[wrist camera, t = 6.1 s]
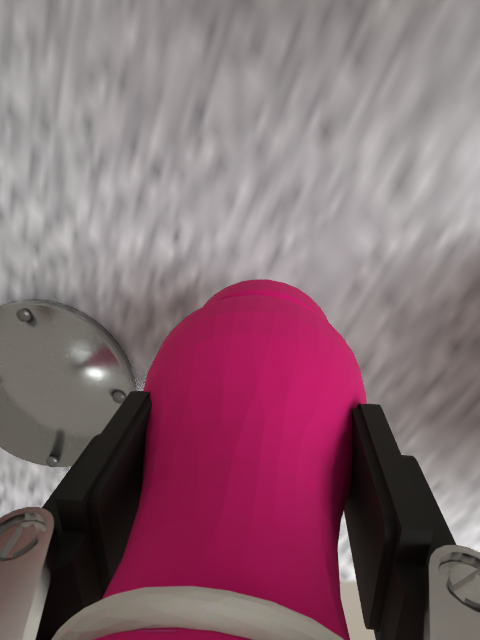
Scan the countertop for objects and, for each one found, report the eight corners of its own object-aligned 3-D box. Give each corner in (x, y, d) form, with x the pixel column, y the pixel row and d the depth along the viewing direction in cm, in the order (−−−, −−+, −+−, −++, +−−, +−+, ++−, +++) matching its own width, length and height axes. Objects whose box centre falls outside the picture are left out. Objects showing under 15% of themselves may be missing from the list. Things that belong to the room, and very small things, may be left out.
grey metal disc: (127, 301, 24) (117, 308, 22) (142, 460, 28) (136, 474, 26) (-53, 297, 25) (-73, 303, 23) (-13, 450, 28) (-28, 464, 27)
